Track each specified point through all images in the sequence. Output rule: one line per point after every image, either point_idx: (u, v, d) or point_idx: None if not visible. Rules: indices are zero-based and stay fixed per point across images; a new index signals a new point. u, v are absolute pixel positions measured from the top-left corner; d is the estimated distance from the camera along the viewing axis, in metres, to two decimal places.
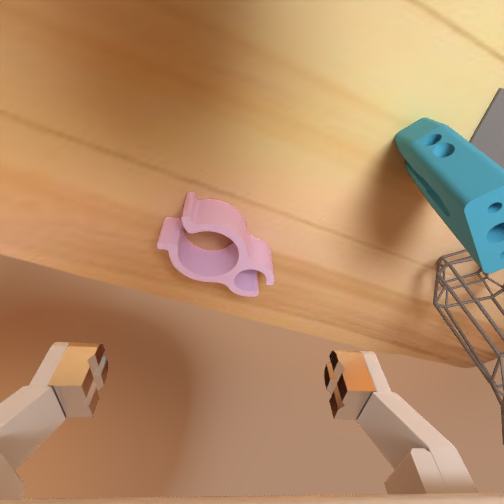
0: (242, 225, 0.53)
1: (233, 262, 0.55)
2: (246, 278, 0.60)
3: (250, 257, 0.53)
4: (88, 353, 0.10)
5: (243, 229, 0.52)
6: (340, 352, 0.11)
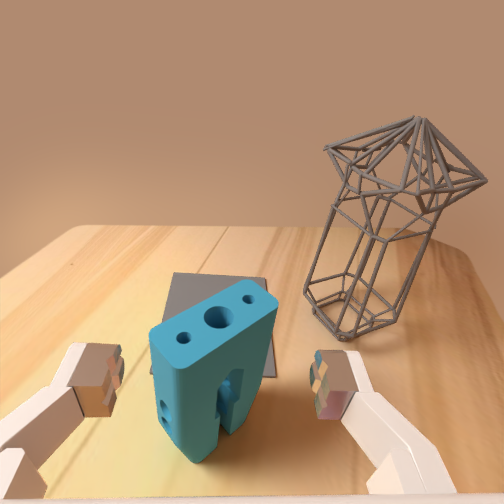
0: None
1: None
2: None
3: None
4: (106, 354, 0.10)
5: None
6: (324, 352, 0.11)
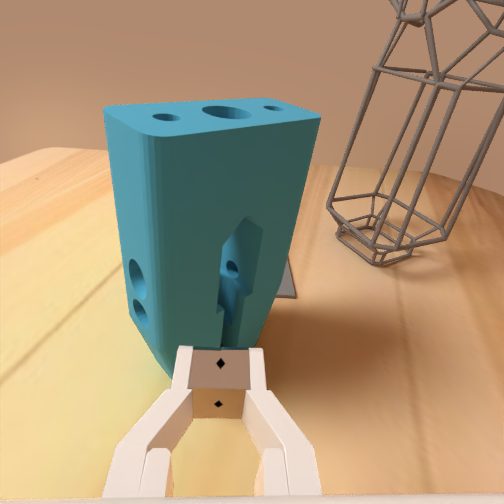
0: None
1: None
2: None
3: None
4: (214, 356, 0.11)
5: None
6: (226, 349, 0.11)
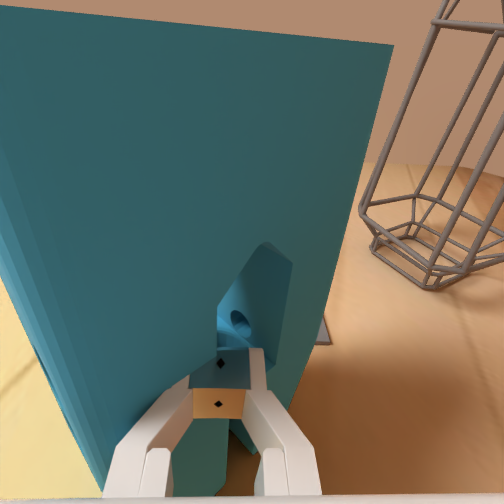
0: None
1: None
2: None
3: None
4: None
5: None
6: (226, 349, 0.11)
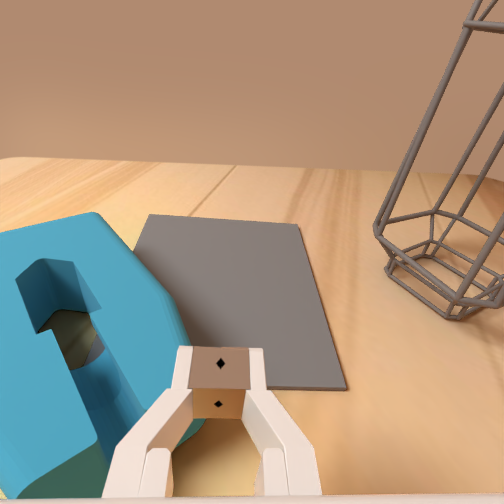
0: None
1: None
2: None
3: None
4: (214, 356, 0.11)
5: None
6: (226, 349, 0.11)
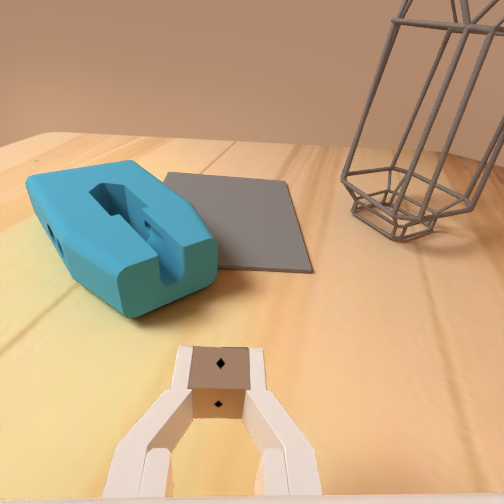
0: None
1: None
2: None
3: None
4: (214, 356, 0.11)
5: None
6: (226, 349, 0.11)
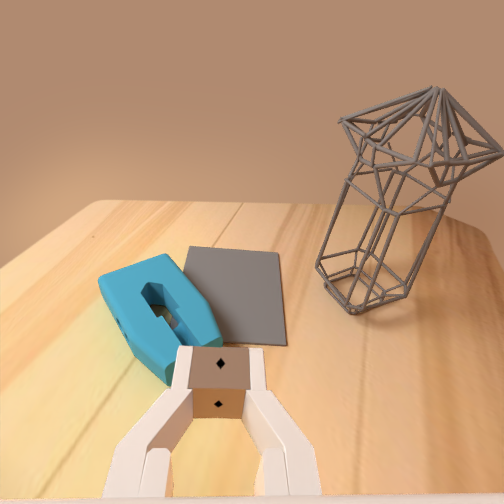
0: None
1: None
2: None
3: None
4: (214, 357, 0.11)
5: None
6: (226, 349, 0.11)
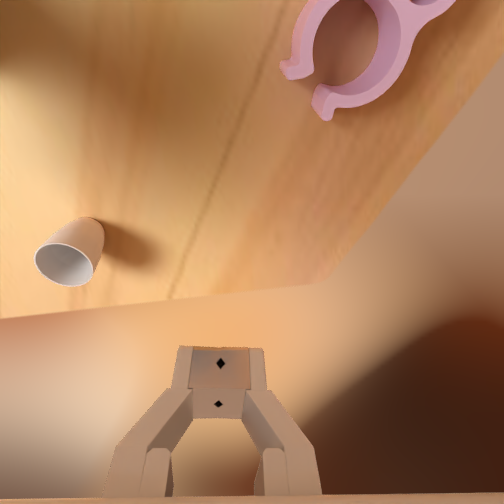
0: None
1: (387, 4, 0.35)
2: None
3: None
4: (214, 357, 0.11)
5: None
6: (226, 349, 0.11)
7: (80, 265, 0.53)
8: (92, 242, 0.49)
